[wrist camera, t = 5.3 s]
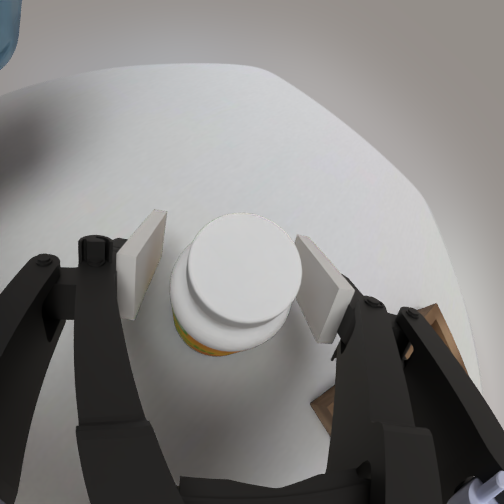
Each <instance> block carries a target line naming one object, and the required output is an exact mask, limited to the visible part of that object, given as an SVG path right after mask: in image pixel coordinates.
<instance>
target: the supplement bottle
mask: <svg viewBox="0 0 504 504" xmlns="http://www.w3.org/2000/svg"><path fill="white" fill-rule="evenodd" d="M301 279H302V264H301V259H300V256H299V252H298V250H297V248H296V246H295V244H294V242H293V241H292V239H291V238H290V237H289V235H288V234H287V233H286V232H285V231H284V230H283V229H282V228H281V227H279V226H278V225H277V224H275V223H274V222H272V221H270V220H269V219H266V218H264V217H262V216H258V215H255V214H250V213H232V214H227V215H224V216H221V217H218V218H216V219H214V220H212V221H211V222H209V223H208V224H207V225H206V226H204V227H203V228H202V229H201V230H200V232H199V233H198V234H197V235H196V237H195V238H194V240H193V242H192V243H191V244H189V245H188V246H187V247H186V248H185V249H184V251H183V252H182V253H181V255H180V256H179V258H178V259H177V261H176V263H175V265H174V268H173V271H172V274H171V279H170V300H171V305H172V311H173V318H174V323H175V327H176V329H177V331H178V333H179V335H180V337H181V338H182V340H183V341H184V342H185V343H186V344H187V345H188V346H189V347H190V348H192V349H193V350H195V351H197V352H199V353H201V354H204V355H208V356H225V355H229V354H233V353H236V352H240V351H244V350H248V349H251V348H254V347H256V346H258V345H260V344H262V343H264V342H266V341H267V340H269V339H270V338H271V337H273V336H274V335H275V334H276V333H277V332H278V330H279V329H280V328H281V327H282V325H283V324H284V322H285V320H286V318H287V316H288V314H289V311H290V308H291V304H292V302H293V301H294V299H295V297H296V295H297V293H298V291H299V288H300V285H301Z"/></svg>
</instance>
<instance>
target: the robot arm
mask: <svg viewBox="0 0 504 504" xmlns="http://www.w3.org/2000/svg"><path fill="white" fill-rule="evenodd" d="M21 4H22V0H0V70H1V69H2V68H3V67H4V66H5V65H6V64H7V63H8V61H9V60H10V59H11V57H12V55H13V53H14V51H15V49H16V46H17V41H18V36H19V27H20V17H21ZM166 217H167V211H161V210H155V209H154V210H153V212H152V213H151V214H150V215H149V216H148V217H147V218H146V219H145V221H144V222H143V223H142V224H141V225H140V226H139V227H138V229H137V230H136V231H135V232H134V233H133V234H132V236H131V237H130V238H129V239H122V238H117V239H114V240H112V239H110V238H108V237H105V236H101V235H89V236H85V237H82V238H81V239H80V240H79V241H78V254H79V265H78V267H76V268H64V267H60V260H59V258H58V257H57V256H55V255H51V254H39V255H37V256H35V257H33V258H31V259H30V260H29V261H28V262H27V263H26V264H25V266H24V267H23V268H22V269H21V270H20V271H19V272H18V274H17V275H16V276H15V277H14V278H13V279H12V281H11V282H10V283H9V284H8V285H7V286H6V288H5V289H4V290H3V291H2V293H1V294H0V504H14V502H15V499H16V496H17V492H18V487H19V481H20V476H21V469H22V463H23V458H24V452H25V447H26V443H27V438H28V434H29V429H30V425H31V421H32V417H33V414H34V410H35V406H36V403H37V400H38V396H39V393H40V390H41V387H42V383H43V380H44V377H45V374H46V372H47V369H48V366H49V363H50V360H51V358H52V355H53V352H54V350H55V347H56V345H57V342H58V340H59V337H60V335H61V332H62V330H63V327H64V325H65V323H66V320H74V370H75V388H76V400H77V410H78V418H79V426H76V437H77V445H78V451H79V456H80V462H81V467H82V471H83V476H84V480H85V484H86V488H87V492H88V496H89V500H90V503H91V504H504V430H503V429H502V427H501V425H500V424H499V422H498V420H497V419H496V417H495V415H494V414H493V412H492V410H491V409H490V407H489V406H488V404H487V403H486V401H485V400H484V398H483V396H482V395H481V393H480V392H479V390H478V389H477V387H476V386H475V385H474V383H473V382H472V380H471V379H470V377H469V376H468V374H467V373H466V372H465V370H464V369H463V367H462V366H461V365H460V363H459V362H458V360H457V359H456V358H455V356H454V355H453V354H452V352H451V351H450V350H449V348H448V347H447V346H446V344H445V343H444V342H443V340H442V339H441V338H440V337H439V335H438V334H437V333H436V331H435V330H434V329H433V328H432V326H431V325H430V324H429V323H428V321H427V320H426V319H425V318H424V316H423V315H422V314H421V313H419V312H418V311H417V310H416V309H413V308H411V307H410V308H409V307H401V308H400V310H399V312H398V315H394V314H390V313H387V310H386V307H385V306H384V304H383V303H382V302H380V301H379V300H377V299H376V298H373V297H369V296H363V295H362V294H361V292H360V291H359V290H358V289H357V288H356V287H355V285H354V284H353V283H352V282H351V281H350V280H349V278H347V277H346V276H344V275H343V274H341V273H340V272H339V271H338V270H337V268H336V267H335V266H334V265H333V264H332V263H331V261H330V260H329V259H328V258H327V257H326V256H325V255H324V253H323V252H322V251H321V250H320V249H319V248H318V247H317V246H316V244H315V243H314V242H313V241H312V240H311V239H310V238H309V237H307V236H301V235H297V237H296V241H295V246H296V248H297V250H298V252H299V256H300V259H301V264H302V279H301V285H300V288H299V291H298V293H297V295H296V299H297V301H298V304H299V306H300V308H301V310H302V312H303V314H304V316H305V318H306V321H307V323H308V325H309V327H310V329H311V331H312V333H313V336H314V338H315V340H316V342H317V343H325V344H332V343H333V341H334V339H335V337H336V334H337V333H338V334H339V336H340V338H341V339H340V342H339V344H338V346H337V348H336V350H335V352H334V354H333V356H332V358H331V361H333V360H334V358H336V357H337V359H336V379H335V395H334V407H333V419H332V429H331V438H330V447H329V455H328V462H327V469H326V472H325V474H319V475H316V476H314V477H311V478H308V479H306V480H303V481H300V482H297V483H294V484H292V485H289V486H285V487H282V488H269V487H262V486H257V485H251V484H246V483H241V482H237V481H232V480H225V479H206V478H193V477H183V476H180V486H176V485H175V482H174V480H173V478H172V476H171V473H170V471H169V469H168V466H167V464H166V461H165V459H164V457H163V454H162V452H161V449H160V446H159V444H158V441H157V438H156V436H155V433H154V431H153V428H152V425H151V424H150V422H149V421H147V420H146V418H145V415H144V412H143V409H142V406H141V403H140V399H139V396H138V392H137V389H136V385H135V381H134V378H133V374H132V370H131V366H130V362H129V357H128V353H127V349H126V344H125V339H124V334H123V329H122V324H121V319H120V318H124V319H129V320H135V318H136V315H137V313H138V310H139V308H140V305H141V303H142V300H143V298H144V296H145V293H146V291H147V289H148V286H149V284H150V282H151V279H152V277H153V275H154V272H155V270H156V268H157V266H158V263H159V261H160V259H161V257H162V250H163V241H164V233H165V225H166ZM411 345H412V346H413V352H412V354H411V355H410V357H409V358H408V359H406V357H405V355H406V353H407V352H408V350H409V348H410V346H411ZM474 476H475V477H474Z"/></svg>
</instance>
